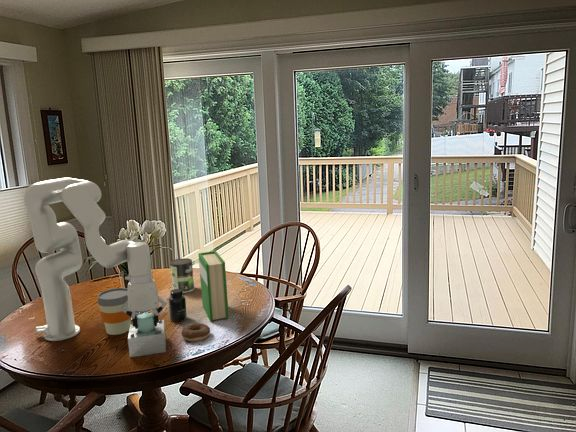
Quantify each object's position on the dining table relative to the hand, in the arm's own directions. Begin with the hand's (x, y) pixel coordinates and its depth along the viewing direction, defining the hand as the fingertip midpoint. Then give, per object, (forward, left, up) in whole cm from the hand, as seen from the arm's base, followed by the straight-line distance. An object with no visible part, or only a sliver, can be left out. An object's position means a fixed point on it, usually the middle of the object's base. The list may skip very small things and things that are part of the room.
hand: (146, 325), depth 170 cm
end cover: (0, 0, -9) cm, 9 cm away
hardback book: (+26, +23, -8) cm, 36 cm away
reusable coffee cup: (-12, +19, -8) cm, 24 cm away
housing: (0, 0, -8) cm, 8 cm away
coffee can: (+14, +56, -8) cm, 58 cm away
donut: (+17, +3, -9) cm, 19 cm away
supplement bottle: (+11, +22, -8) cm, 26 cm away
